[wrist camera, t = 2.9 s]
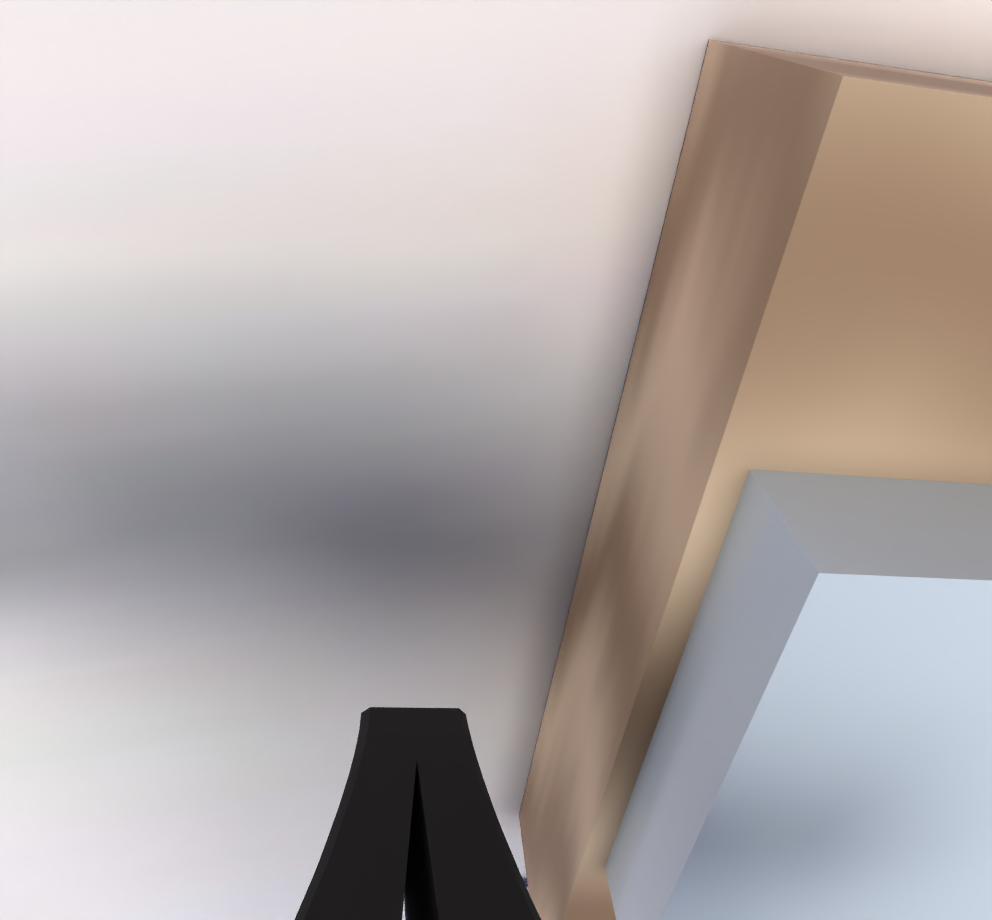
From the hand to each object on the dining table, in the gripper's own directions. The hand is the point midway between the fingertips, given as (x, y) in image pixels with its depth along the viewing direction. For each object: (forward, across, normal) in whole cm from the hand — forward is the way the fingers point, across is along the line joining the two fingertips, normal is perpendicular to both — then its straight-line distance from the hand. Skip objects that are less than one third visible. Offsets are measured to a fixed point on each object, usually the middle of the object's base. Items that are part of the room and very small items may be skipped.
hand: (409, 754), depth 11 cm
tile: (+1, -7, 0) cm, 7 cm away
